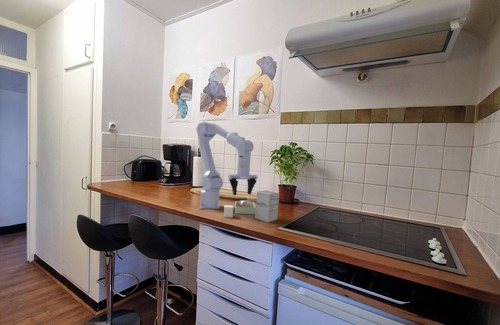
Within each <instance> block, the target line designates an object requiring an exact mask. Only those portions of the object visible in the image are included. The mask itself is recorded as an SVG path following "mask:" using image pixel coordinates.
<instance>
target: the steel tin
mask: <svg viewBox="0 0 500 325" xmlns="http://www.w3.org/2000/svg"><path fill="white" fill-rule="evenodd" d="M239 202H240V203H239V207H251V202H252V201H251V200H248V199H243V200H242V199H241V200H239Z"/></svg>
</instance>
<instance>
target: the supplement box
mask: <svg viewBox="0 0 500 325" xmlns="http://www.w3.org/2000/svg"><path fill="white" fill-rule="evenodd" d="M279 200H280V193H279V192H275V191H272V190H267V189H265V190H258V191H256V203H255V206H256V214H254V215H255V217H254V219H255V220H256V219H257V220H259V221H262V222H266V223H269V222H273V221H277V220H278V215H279V214H278V213H279V211H278V210H279Z"/></svg>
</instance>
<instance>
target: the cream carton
mask: <svg viewBox="0 0 500 325" xmlns="http://www.w3.org/2000/svg"><path fill="white" fill-rule="evenodd" d="M233 217H234V205H233V204H231V205H230V204H229V205H228V204H224V206H223V218H233Z"/></svg>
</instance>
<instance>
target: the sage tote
mask: <svg viewBox="0 0 500 325" xmlns="http://www.w3.org/2000/svg"><path fill="white" fill-rule="evenodd" d="M239 203H240V200H237V201H235V202H234V214H243V215H246V214H247V215H255V214H256V203H255V201H251V207H239Z"/></svg>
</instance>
